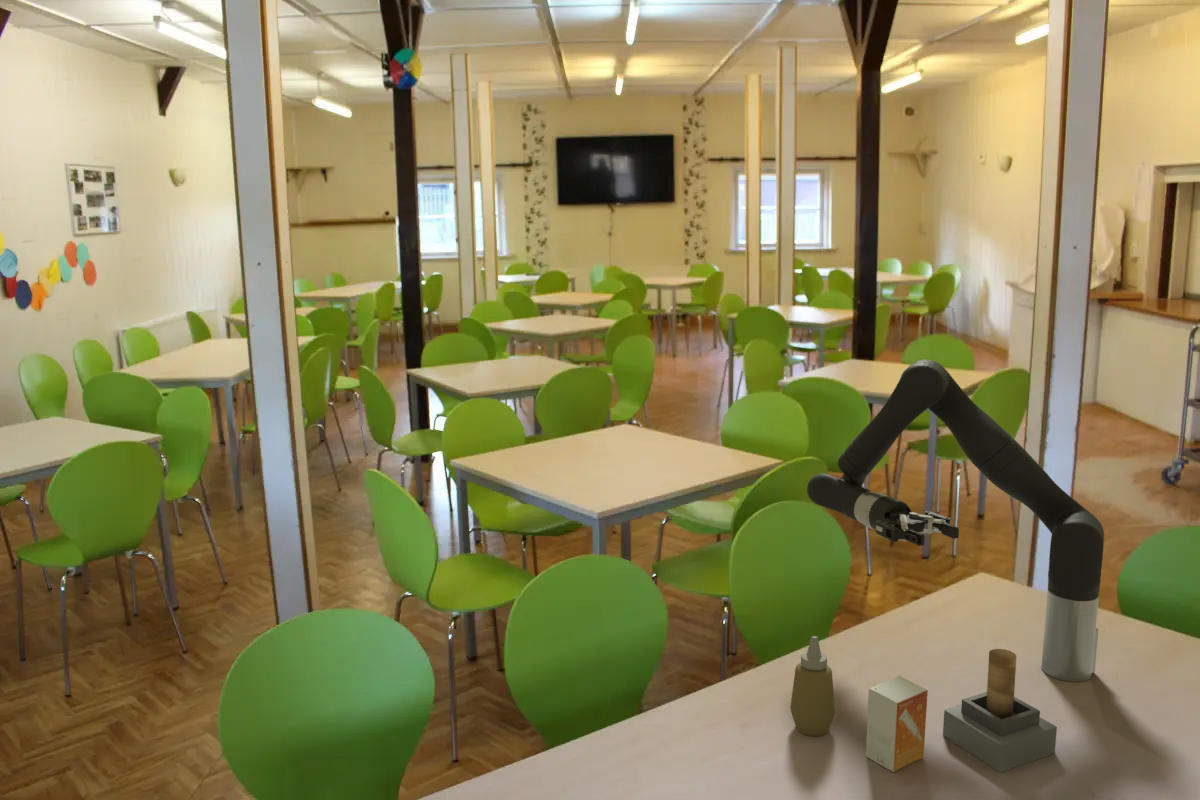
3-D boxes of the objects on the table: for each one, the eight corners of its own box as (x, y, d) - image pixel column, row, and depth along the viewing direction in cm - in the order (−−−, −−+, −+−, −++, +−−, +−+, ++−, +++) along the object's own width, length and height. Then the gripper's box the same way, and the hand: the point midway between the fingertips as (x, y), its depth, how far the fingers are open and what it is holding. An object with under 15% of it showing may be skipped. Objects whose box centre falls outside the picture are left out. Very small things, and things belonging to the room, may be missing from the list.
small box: (893, 773, 162) (897, 703, 159) (864, 756, 167) (867, 687, 164) (925, 757, 166) (928, 689, 163) (895, 741, 171) (898, 674, 169)
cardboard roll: (998, 709, 172) (1002, 646, 169) (1018, 720, 168) (1022, 656, 165) (980, 715, 170) (983, 652, 168) (999, 726, 166) (1003, 662, 164)
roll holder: (995, 717, 178) (998, 680, 177) (1054, 752, 167) (1058, 713, 165) (942, 735, 173) (945, 697, 171) (1000, 772, 161) (1002, 732, 160)
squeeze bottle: (836, 720, 178) (839, 630, 175) (832, 743, 171) (835, 650, 167) (793, 713, 181) (795, 625, 177) (786, 736, 174) (788, 644, 170)
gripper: (854, 500, 192) (912, 524, 178) (909, 490, 198) (969, 512, 184) (853, 536, 194) (910, 562, 179) (908, 525, 200) (967, 549, 185)
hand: (940, 537), depth 182 cm, fingers open, 8 cm apart
